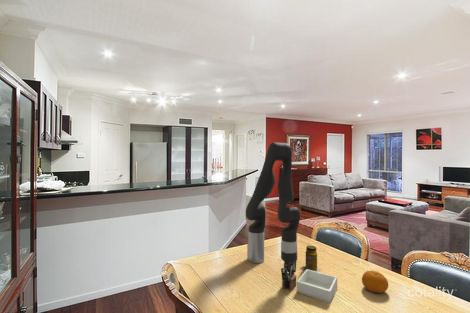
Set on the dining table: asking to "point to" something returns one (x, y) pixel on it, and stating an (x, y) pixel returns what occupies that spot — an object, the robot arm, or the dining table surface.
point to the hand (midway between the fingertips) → (289, 285)
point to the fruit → (374, 281)
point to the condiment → (311, 259)
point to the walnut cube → (291, 282)
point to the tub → (317, 285)
